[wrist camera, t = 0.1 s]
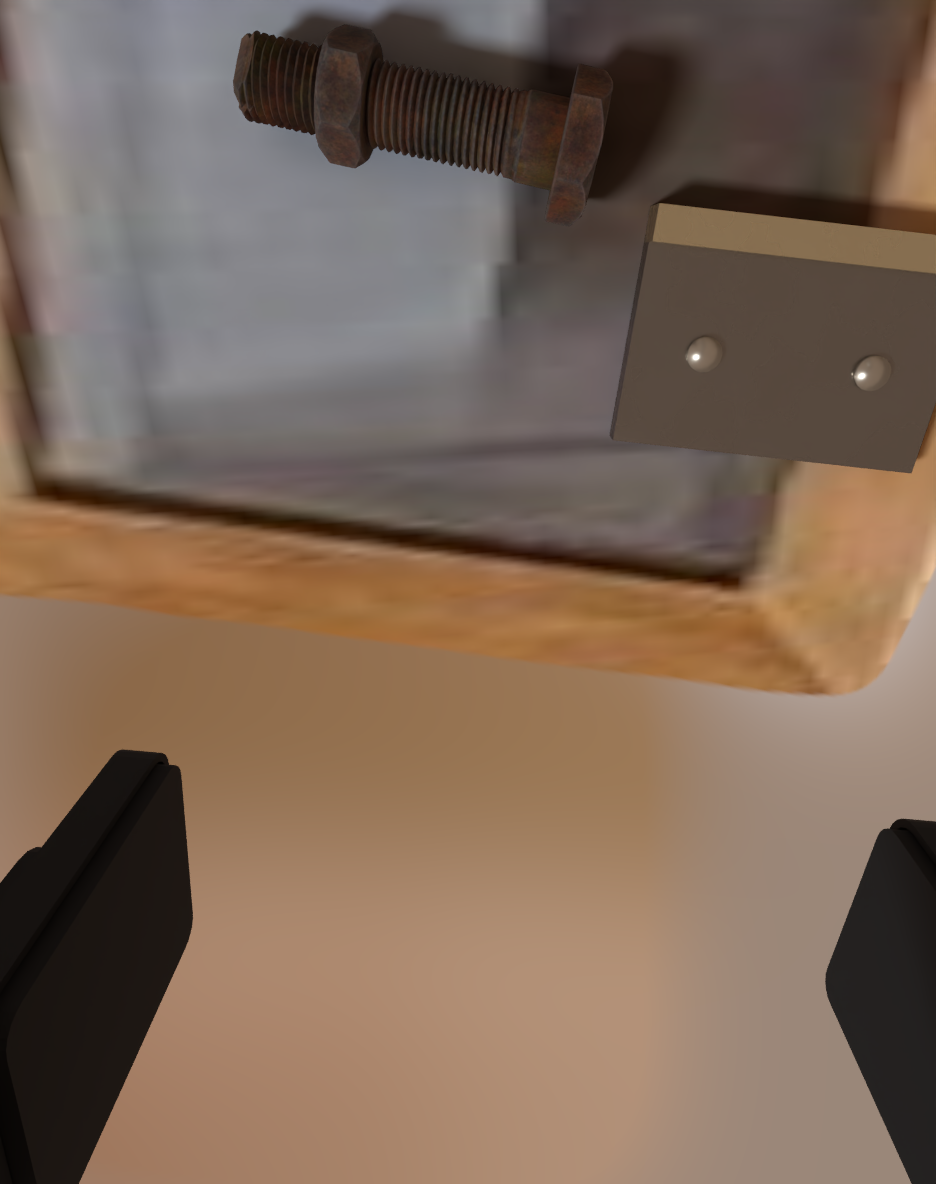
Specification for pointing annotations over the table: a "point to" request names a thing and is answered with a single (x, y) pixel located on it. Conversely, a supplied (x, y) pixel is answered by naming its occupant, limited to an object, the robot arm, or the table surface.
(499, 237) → the table surface
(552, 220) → the bolt
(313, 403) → the table surface
